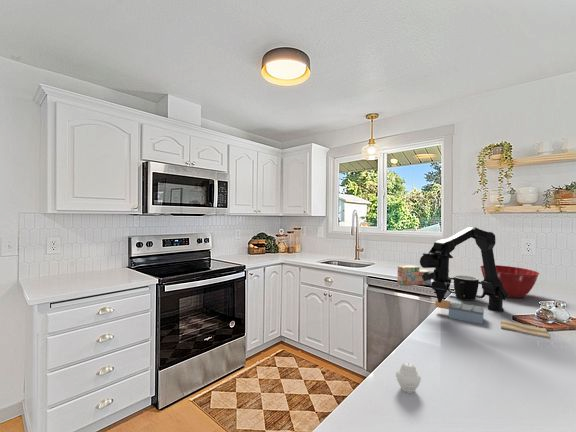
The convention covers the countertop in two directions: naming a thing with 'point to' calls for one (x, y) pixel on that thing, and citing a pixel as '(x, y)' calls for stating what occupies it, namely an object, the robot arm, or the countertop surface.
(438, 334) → the countertop surface
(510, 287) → the mixing bowl
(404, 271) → the stack of blocks
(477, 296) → the mug
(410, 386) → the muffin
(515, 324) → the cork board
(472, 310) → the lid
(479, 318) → the tub
